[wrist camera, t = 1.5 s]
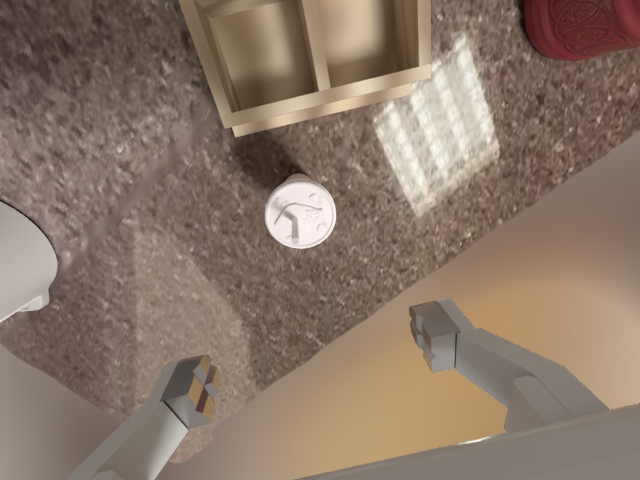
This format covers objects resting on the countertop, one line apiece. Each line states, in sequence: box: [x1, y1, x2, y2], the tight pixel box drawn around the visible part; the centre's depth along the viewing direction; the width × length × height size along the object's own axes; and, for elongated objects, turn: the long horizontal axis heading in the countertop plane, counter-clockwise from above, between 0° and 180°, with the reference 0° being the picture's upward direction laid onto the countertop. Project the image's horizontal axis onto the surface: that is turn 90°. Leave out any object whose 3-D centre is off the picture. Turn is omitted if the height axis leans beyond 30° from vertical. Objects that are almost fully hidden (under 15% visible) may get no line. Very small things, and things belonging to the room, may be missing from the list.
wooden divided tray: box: [178, 0, 431, 137], centre depth 22 cm, size 19×12×6 cm, turn 103°
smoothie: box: [265, 173, 336, 248], centre depth 24 cm, size 6×6×14 cm
